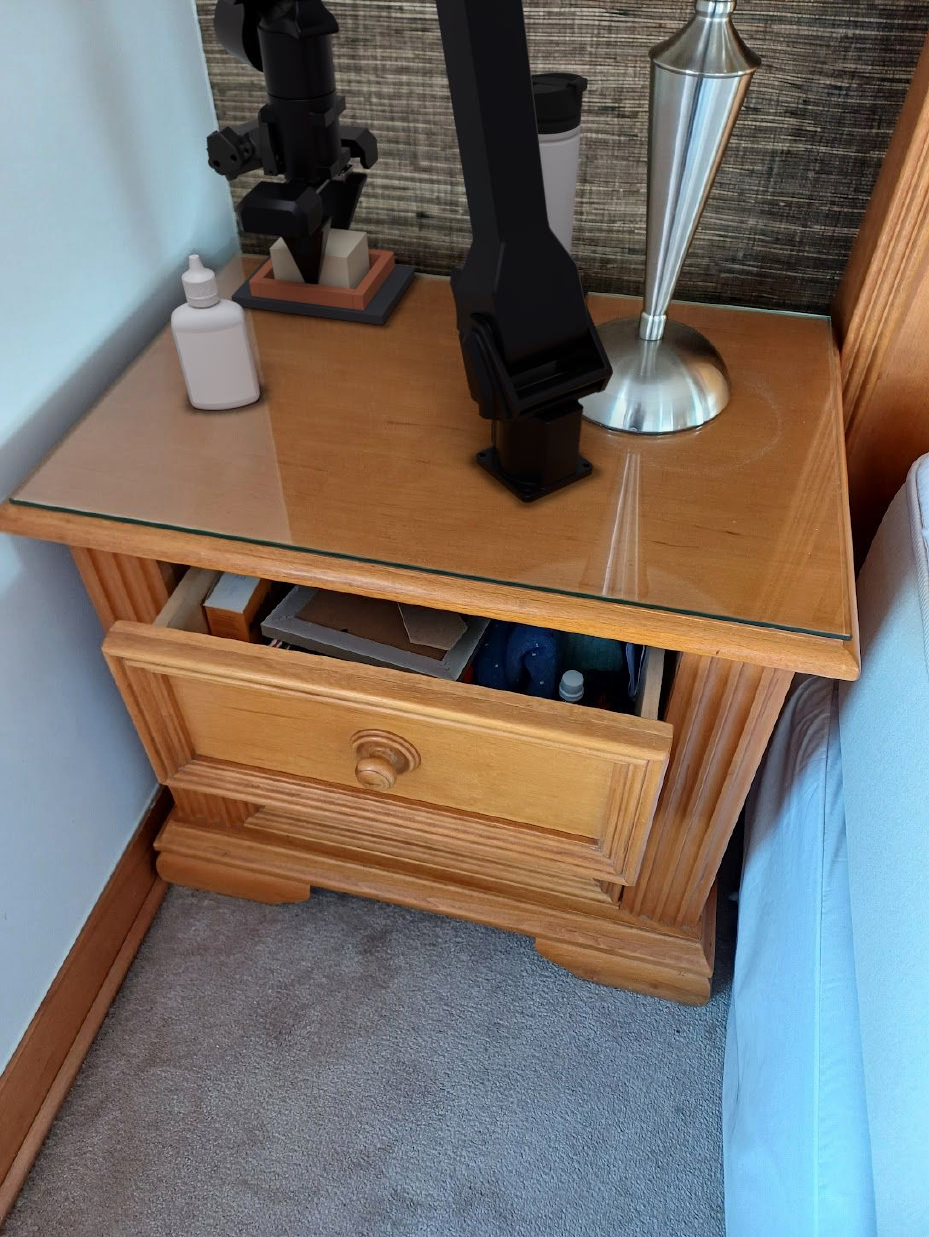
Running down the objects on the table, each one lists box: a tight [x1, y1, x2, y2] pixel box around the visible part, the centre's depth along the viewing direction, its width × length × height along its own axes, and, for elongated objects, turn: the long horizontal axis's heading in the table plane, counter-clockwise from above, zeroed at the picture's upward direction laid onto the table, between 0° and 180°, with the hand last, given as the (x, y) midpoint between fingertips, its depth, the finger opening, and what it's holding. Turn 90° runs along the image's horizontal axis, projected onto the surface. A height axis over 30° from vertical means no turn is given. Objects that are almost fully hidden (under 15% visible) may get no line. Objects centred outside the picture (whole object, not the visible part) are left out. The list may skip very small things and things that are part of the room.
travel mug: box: [531, 72, 589, 256], centre depth 76 cm, size 6×7×20 cm
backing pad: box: [231, 248, 416, 326], centre depth 87 cm, size 15×10×2 cm, turn 75°
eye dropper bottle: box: [170, 254, 261, 411], centre depth 70 cm, size 4×6×12 cm
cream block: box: [269, 228, 370, 289], centre depth 85 cm, size 8×6×4 cm
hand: (323, 271), depth 86 cm, fingers closed on cream block, 5 cm apart
